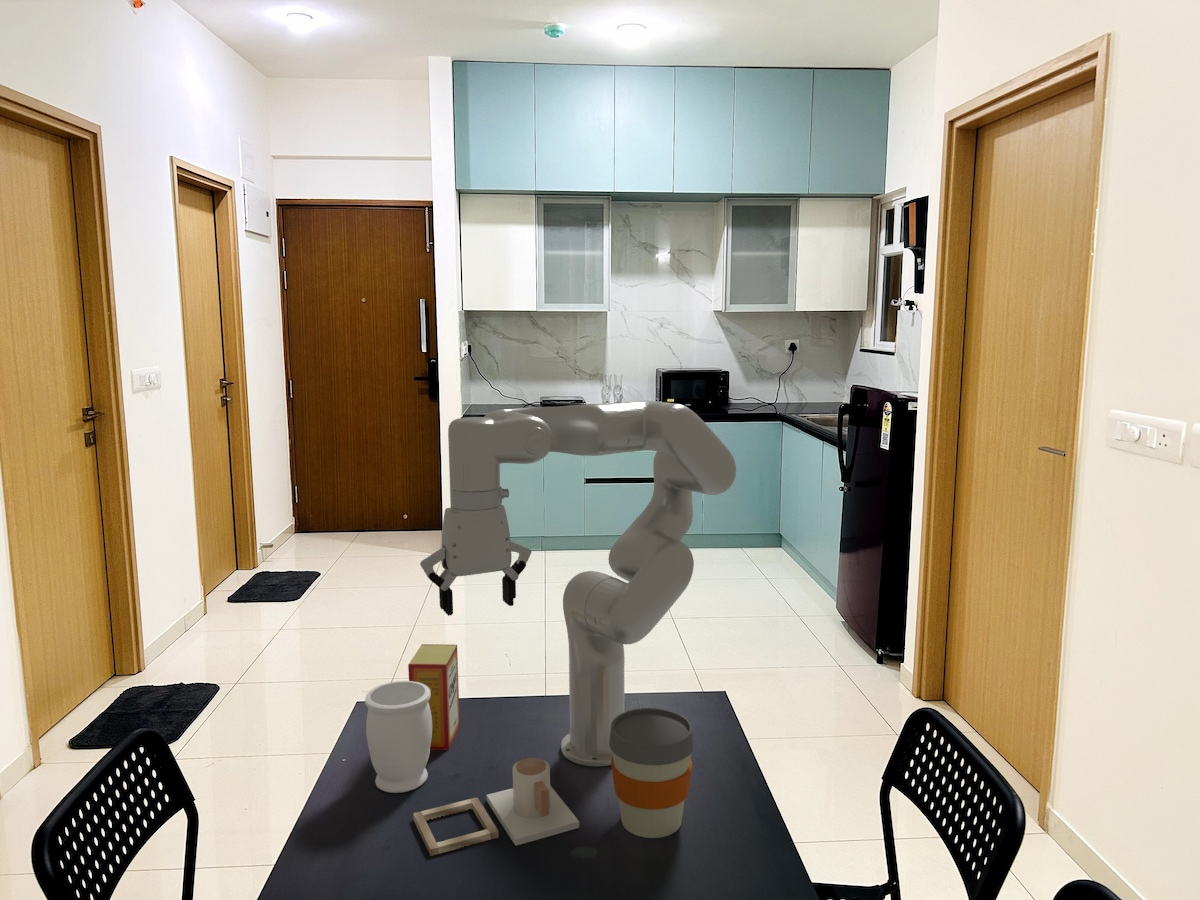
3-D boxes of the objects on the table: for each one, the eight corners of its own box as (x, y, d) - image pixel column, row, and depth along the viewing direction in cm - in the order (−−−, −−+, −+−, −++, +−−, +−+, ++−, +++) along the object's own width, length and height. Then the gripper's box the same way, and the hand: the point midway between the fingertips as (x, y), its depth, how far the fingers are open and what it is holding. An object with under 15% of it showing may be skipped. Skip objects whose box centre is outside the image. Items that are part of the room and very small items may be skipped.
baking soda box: (424, 724, 160) (421, 642, 158) (459, 725, 160) (457, 642, 158) (411, 749, 151) (408, 662, 149) (448, 750, 151) (445, 663, 148)
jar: (418, 801, 135) (414, 710, 133) (357, 794, 137) (352, 705, 135) (443, 766, 145) (440, 682, 143) (386, 761, 147) (382, 677, 145)
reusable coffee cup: (619, 850, 122) (619, 751, 120) (602, 802, 134) (601, 711, 132) (704, 839, 124) (705, 742, 122) (679, 793, 137) (680, 703, 134)
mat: (545, 785, 139) (545, 779, 139) (579, 827, 128) (579, 821, 127) (486, 800, 135) (486, 794, 135) (515, 845, 123) (515, 839, 123)
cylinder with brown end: (508, 802, 132) (507, 760, 131) (542, 793, 135) (541, 752, 134) (527, 831, 125) (526, 786, 124) (563, 821, 127) (562, 777, 126)
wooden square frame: (477, 803, 134) (477, 797, 134) (498, 837, 125) (498, 831, 125) (413, 819, 130) (413, 813, 130) (430, 856, 121) (430, 849, 121)
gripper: (520, 489, 138) (522, 593, 140) (412, 500, 130) (416, 609, 133) (537, 498, 131) (539, 607, 134) (425, 509, 124) (429, 624, 126)
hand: (478, 608), depth 133 cm, fingers open, 9 cm apart
